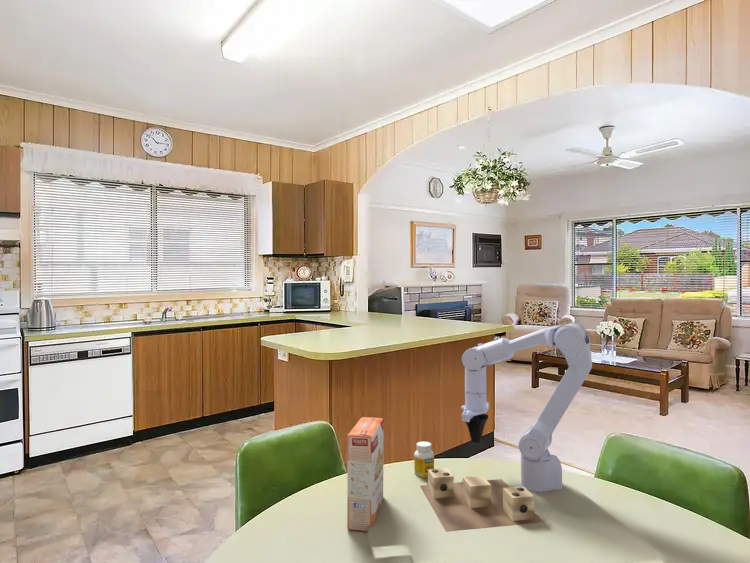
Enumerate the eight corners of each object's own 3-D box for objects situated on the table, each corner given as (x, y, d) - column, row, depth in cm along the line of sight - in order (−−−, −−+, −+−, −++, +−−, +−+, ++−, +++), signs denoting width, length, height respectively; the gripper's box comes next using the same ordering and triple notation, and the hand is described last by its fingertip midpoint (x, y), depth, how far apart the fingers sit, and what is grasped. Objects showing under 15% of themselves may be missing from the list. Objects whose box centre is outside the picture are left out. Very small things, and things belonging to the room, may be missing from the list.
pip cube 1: (447, 487, 118) (447, 467, 118) (453, 497, 113) (453, 476, 113) (428, 489, 118) (428, 469, 118) (433, 498, 113) (433, 477, 113)
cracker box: (373, 533, 100) (372, 436, 100) (346, 531, 102) (345, 434, 101) (385, 502, 114) (384, 416, 114) (361, 500, 115) (360, 415, 115)
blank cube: (483, 496, 114) (482, 475, 114) (491, 506, 109) (491, 484, 109) (463, 498, 113) (462, 477, 113) (470, 508, 108) (470, 486, 108)
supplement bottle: (423, 473, 131) (422, 438, 131) (438, 479, 127) (438, 443, 127) (410, 479, 127) (410, 443, 127) (425, 485, 124) (425, 448, 123)
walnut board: (501, 484, 123) (501, 479, 123) (544, 528, 102) (544, 521, 102) (419, 491, 120) (419, 485, 120) (445, 538, 98) (445, 531, 98)
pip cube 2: (523, 508, 108) (523, 485, 108) (534, 519, 103) (534, 495, 103) (503, 509, 107) (502, 487, 107) (512, 521, 102) (512, 497, 102)
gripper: (472, 384, 136) (472, 431, 136) (450, 395, 124) (451, 446, 124) (496, 387, 132) (496, 436, 132) (476, 399, 120) (476, 452, 120)
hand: (476, 441), depth 127 cm, fingers closed
